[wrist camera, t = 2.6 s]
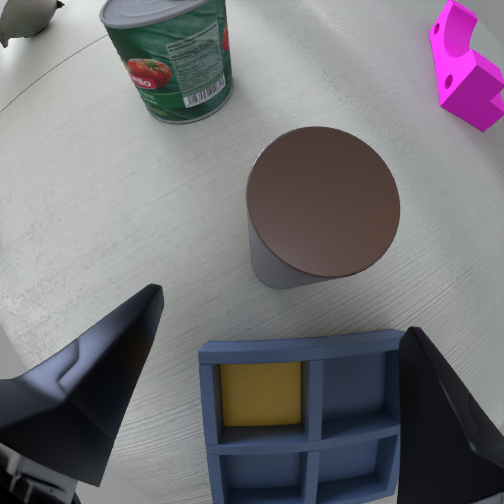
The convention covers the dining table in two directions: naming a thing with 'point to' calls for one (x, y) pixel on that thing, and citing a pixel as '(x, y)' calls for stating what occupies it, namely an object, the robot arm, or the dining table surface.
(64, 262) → the dining table surface
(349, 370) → the grid
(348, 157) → the brown wooden dowel
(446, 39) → the toy block
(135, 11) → the canned tomato
